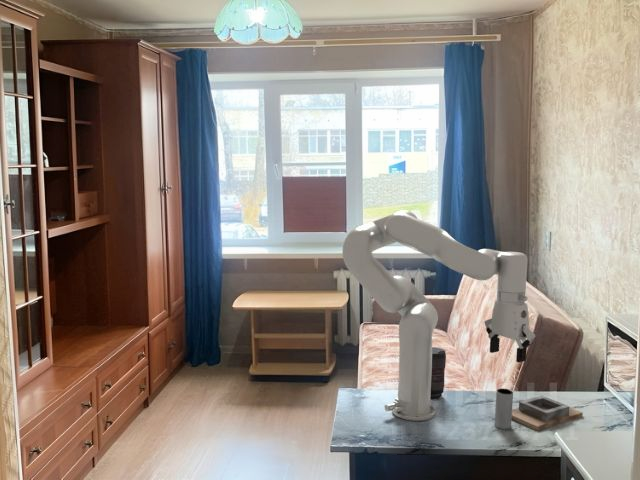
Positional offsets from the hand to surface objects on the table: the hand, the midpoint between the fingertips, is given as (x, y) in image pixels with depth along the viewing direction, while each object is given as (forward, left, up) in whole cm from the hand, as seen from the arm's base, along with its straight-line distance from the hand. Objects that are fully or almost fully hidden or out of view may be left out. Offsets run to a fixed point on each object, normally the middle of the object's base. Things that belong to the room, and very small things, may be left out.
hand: (507, 356), depth 190 cm
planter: (0, 0, -20) cm, 21 cm away
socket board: (+16, -1, -20) cm, 26 cm away
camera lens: (-2, +28, -21) cm, 35 cm away
